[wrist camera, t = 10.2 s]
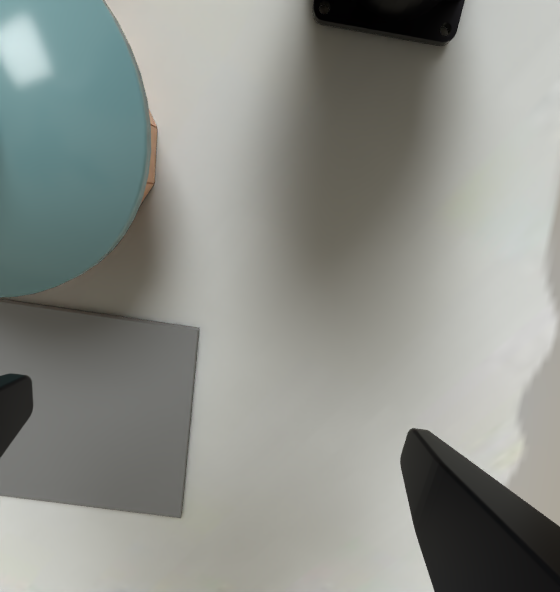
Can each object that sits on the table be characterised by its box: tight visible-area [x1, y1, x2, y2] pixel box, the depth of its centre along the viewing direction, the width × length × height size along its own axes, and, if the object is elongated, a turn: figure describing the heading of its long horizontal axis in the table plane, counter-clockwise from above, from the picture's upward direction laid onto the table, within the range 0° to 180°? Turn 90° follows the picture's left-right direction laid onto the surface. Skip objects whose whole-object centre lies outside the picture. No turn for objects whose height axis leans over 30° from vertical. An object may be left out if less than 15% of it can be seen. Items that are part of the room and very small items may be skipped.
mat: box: [0, 299, 199, 518], centre depth 22 cm, size 16×14×1 cm
